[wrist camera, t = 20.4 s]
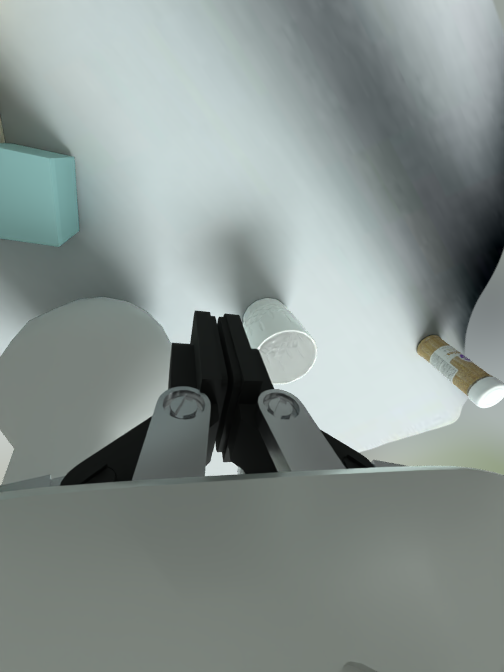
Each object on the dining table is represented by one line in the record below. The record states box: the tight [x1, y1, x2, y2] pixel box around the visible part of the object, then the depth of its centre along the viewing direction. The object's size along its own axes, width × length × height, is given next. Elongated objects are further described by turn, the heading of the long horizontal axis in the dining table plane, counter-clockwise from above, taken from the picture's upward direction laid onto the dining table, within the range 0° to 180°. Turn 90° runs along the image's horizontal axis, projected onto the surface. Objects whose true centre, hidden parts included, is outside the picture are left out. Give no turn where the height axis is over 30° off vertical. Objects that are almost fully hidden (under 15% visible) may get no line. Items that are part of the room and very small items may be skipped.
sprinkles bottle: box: [417, 335, 504, 408], centre depth 47 cm, size 5×5×13 cm
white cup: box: [243, 298, 317, 384], centre depth 39 cm, size 8×8×10 cm
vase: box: [0, 297, 172, 485], centre depth 28 cm, size 17×16×28 cm
